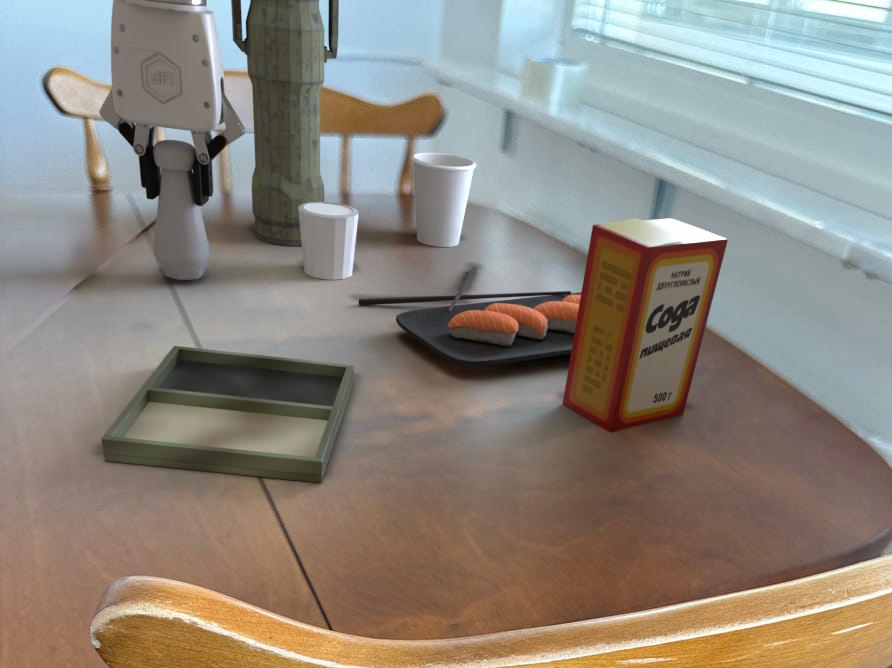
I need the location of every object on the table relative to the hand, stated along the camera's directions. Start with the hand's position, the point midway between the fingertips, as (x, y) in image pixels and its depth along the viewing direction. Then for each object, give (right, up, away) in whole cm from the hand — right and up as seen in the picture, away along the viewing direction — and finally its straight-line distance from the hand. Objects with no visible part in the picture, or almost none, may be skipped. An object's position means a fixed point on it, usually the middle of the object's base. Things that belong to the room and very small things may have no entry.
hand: (178, 197), depth 97 cm
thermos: (+7, +6, +23) cm, 24 cm away
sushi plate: (+33, -10, +7) cm, 36 cm away
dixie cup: (+26, +8, +28) cm, 39 cm away
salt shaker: (-1, -6, +5) cm, 8 cm away
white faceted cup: (+14, -3, +13) cm, 19 cm away
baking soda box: (+45, -25, -10) cm, 52 cm away
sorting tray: (+12, -28, -20) cm, 37 cm away
